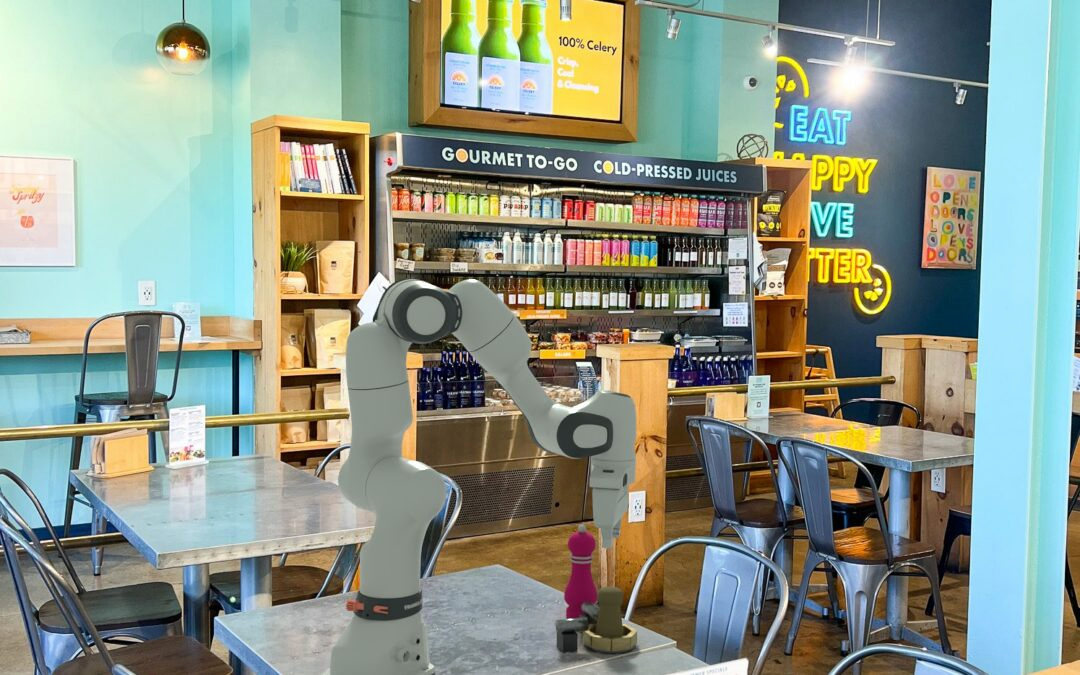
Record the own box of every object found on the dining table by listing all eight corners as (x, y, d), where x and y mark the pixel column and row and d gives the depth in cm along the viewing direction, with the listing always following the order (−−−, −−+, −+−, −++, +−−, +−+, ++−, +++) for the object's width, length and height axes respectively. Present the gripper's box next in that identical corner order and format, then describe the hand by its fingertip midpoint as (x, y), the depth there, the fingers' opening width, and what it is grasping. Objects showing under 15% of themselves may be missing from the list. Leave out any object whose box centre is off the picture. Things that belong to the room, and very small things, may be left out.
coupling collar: (626, 657, 201) (626, 641, 201) (575, 649, 205) (576, 634, 205) (642, 641, 211) (643, 626, 211) (594, 634, 215) (594, 619, 215)
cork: (608, 650, 203) (609, 594, 203) (587, 641, 208) (588, 587, 208) (630, 643, 207) (632, 588, 207) (609, 635, 212) (610, 582, 211)
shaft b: (578, 629, 218) (578, 601, 217) (595, 627, 219) (596, 599, 219) (590, 638, 212) (590, 609, 212) (608, 636, 214) (608, 607, 213)
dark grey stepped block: (560, 653, 203) (560, 623, 203) (554, 646, 207) (554, 616, 207) (589, 650, 205) (590, 620, 205) (582, 644, 209) (583, 614, 208)
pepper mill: (603, 615, 228) (605, 524, 227) (585, 624, 222) (587, 529, 221) (575, 609, 232) (576, 519, 231) (557, 617, 226) (558, 525, 225)
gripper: (606, 464, 218) (604, 530, 218) (587, 479, 198) (586, 552, 198) (636, 465, 216) (634, 532, 217) (621, 481, 196) (619, 555, 197)
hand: (611, 542), depth 207 cm, fingers open, 8 cm apart
